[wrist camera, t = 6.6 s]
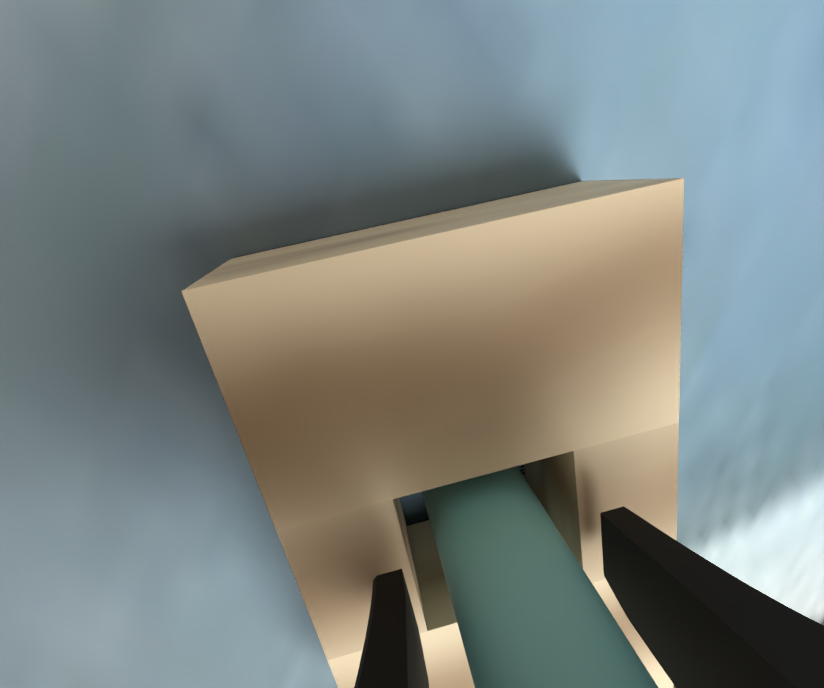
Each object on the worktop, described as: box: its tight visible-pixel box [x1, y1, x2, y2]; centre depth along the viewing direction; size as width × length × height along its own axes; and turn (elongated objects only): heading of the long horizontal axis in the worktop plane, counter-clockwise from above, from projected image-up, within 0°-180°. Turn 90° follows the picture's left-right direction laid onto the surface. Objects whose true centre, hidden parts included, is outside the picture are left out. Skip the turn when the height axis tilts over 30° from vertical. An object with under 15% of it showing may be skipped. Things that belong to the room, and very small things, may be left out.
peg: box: [422, 466, 658, 688], centre depth 11 cm, size 3×3×9 cm
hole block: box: [181, 178, 684, 688], centre depth 13 cm, size 16×10×4 cm, turn 11°
